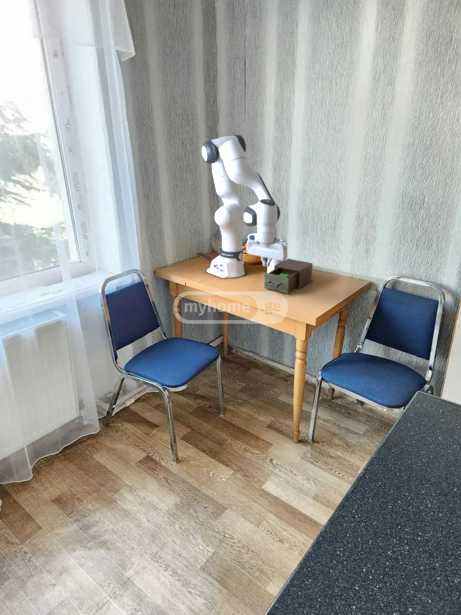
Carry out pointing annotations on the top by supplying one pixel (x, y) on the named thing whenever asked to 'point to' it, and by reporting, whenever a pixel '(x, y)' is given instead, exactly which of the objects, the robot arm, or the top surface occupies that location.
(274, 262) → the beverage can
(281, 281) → the drawer
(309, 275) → the cabinet
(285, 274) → the green block
